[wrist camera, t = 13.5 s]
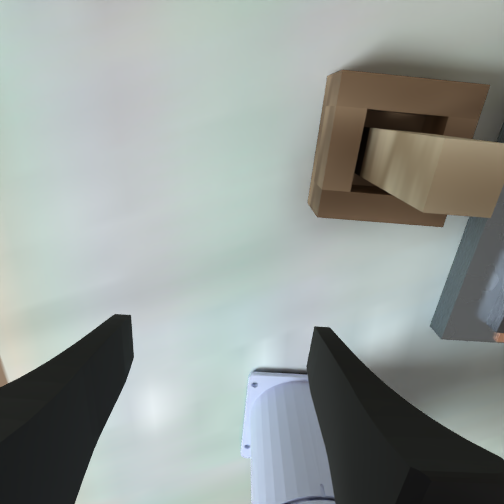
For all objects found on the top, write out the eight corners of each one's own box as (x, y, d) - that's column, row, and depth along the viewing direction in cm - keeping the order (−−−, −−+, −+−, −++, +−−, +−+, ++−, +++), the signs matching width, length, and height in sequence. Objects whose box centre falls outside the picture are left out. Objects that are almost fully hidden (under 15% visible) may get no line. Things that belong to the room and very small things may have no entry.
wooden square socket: (416, 211, 21) (442, 227, 18) (307, 202, 20) (317, 217, 18) (452, 88, 18) (490, 84, 15) (327, 76, 18) (342, 69, 15)
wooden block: (396, 176, 19) (490, 218, 12) (354, 172, 19) (423, 212, 12) (408, 130, 18) (518, 145, 11) (363, 126, 18) (445, 137, 11)
